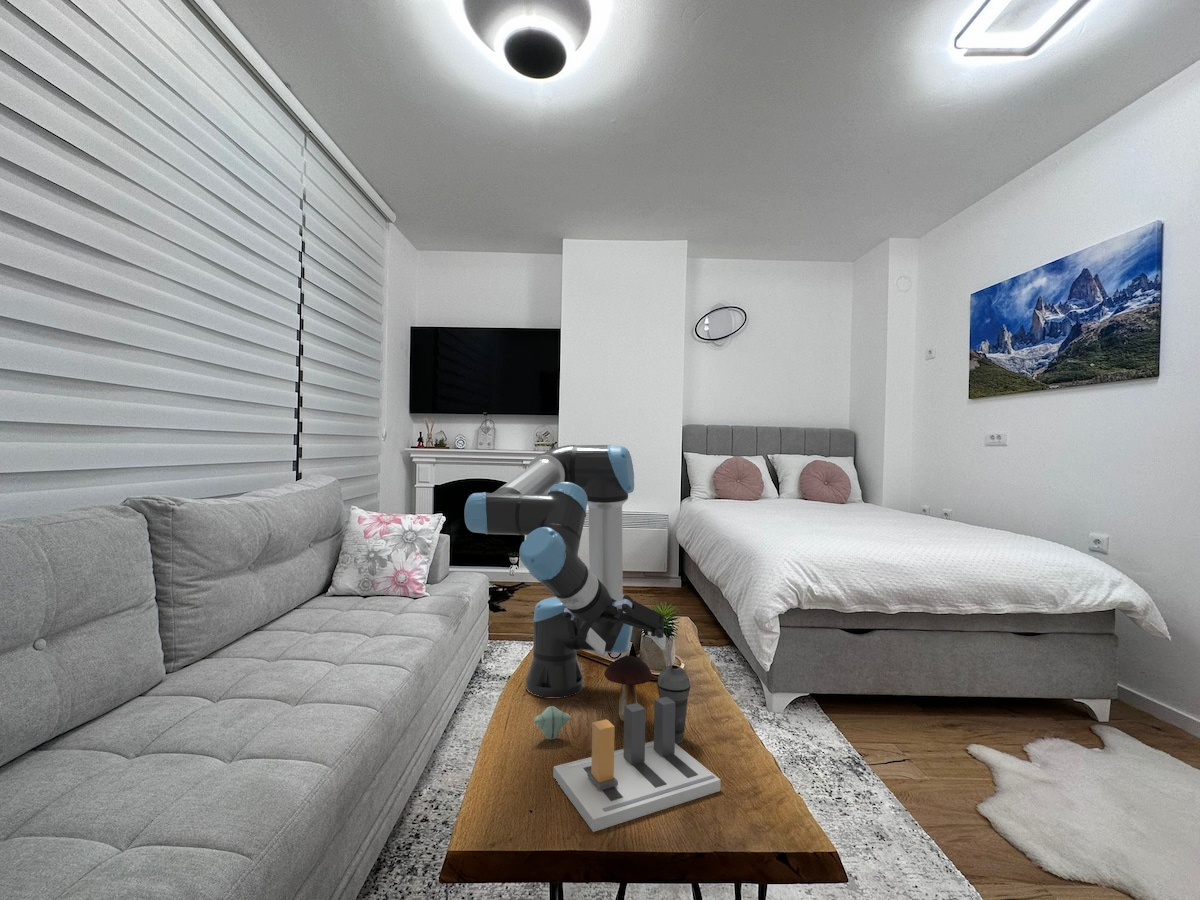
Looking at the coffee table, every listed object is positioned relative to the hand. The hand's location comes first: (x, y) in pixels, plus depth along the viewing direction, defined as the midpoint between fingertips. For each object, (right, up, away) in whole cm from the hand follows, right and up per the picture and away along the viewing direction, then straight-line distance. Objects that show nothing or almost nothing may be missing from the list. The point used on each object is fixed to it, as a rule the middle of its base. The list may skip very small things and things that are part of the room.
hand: (632, 646), depth 109 cm
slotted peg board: (0, -23, -9) cm, 24 cm away
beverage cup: (+9, -23, +8) cm, 27 cm away
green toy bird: (-17, -23, +7) cm, 30 cm away
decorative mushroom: (0, -23, +16) cm, 28 cm away
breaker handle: (-6, -20, -12) cm, 24 cm away
